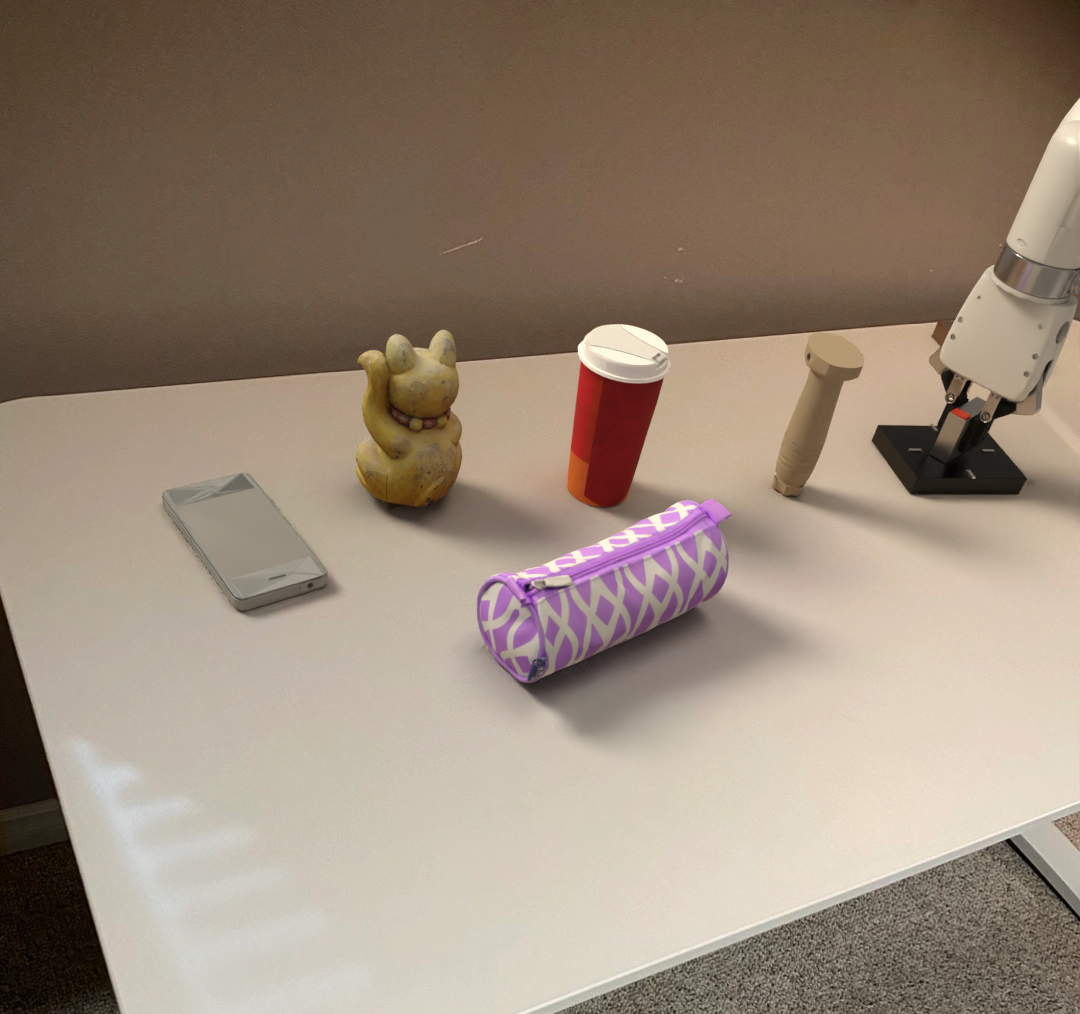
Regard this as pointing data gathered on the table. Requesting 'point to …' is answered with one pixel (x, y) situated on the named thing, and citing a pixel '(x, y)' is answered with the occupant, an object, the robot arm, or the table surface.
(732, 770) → the table surface
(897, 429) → the base
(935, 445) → the tap handle
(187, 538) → the phone
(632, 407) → the coffee cup
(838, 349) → the handle
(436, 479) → the decorative figurine
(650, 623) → the pencil case
